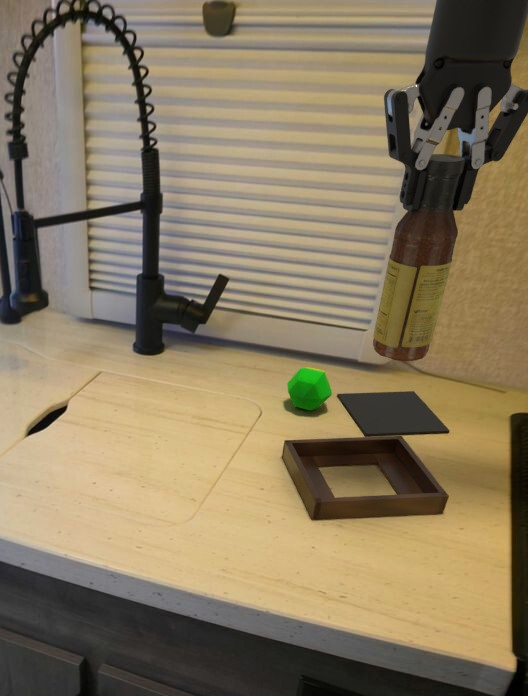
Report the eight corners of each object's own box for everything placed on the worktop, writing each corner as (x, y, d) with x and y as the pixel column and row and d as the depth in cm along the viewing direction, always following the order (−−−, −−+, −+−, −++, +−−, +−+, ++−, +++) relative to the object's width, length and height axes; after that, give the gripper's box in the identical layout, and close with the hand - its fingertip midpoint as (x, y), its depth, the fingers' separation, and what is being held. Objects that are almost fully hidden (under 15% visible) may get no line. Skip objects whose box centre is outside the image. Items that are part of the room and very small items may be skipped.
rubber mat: (413, 393, 101) (413, 391, 101) (449, 433, 92) (449, 430, 92) (336, 396, 100) (337, 393, 100) (365, 436, 91) (365, 433, 91)
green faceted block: (309, 368, 91) (327, 344, 97) (271, 388, 95) (291, 364, 101) (335, 411, 92) (351, 385, 99) (298, 429, 97) (315, 402, 103)
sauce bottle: (429, 347, 77) (487, 155, 65) (423, 368, 72) (484, 165, 60) (371, 337, 79) (417, 148, 67) (362, 356, 74) (409, 158, 62)
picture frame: (396, 451, 88) (401, 435, 86) (443, 513, 77) (449, 496, 75) (281, 456, 87) (284, 439, 85) (312, 519, 76) (315, 502, 74)
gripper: (423, -10, 52) (377, 220, 63) (592, -10, 54) (520, 217, 64) (386, -8, 58) (350, 202, 69) (539, -8, 60) (481, 199, 70)
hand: (432, 208), depth 66 cm, fingers closed on sauce bottle, 4 cm apart
